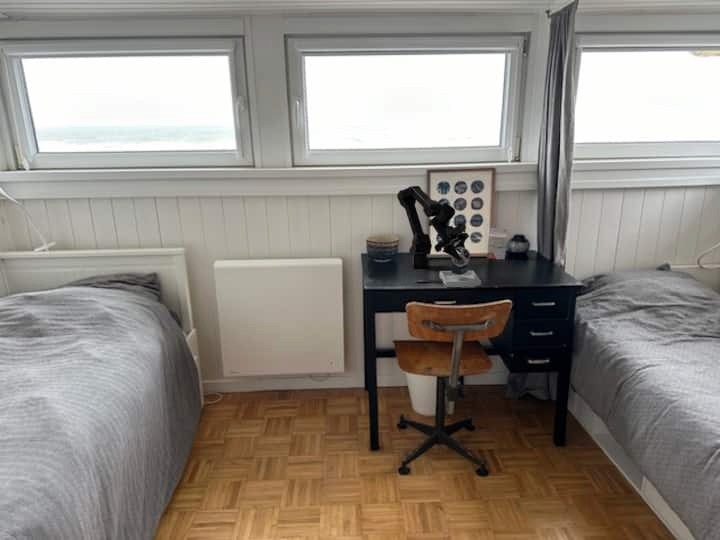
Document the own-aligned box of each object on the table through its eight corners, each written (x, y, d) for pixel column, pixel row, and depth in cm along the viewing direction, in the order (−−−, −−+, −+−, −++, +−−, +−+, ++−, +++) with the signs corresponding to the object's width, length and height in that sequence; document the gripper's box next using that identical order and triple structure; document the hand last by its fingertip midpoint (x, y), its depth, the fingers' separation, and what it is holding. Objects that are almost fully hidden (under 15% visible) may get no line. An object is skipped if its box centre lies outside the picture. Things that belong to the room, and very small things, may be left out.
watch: (464, 276, 204) (465, 250, 201) (448, 272, 209) (449, 247, 206) (471, 272, 208) (472, 247, 204) (455, 268, 213) (456, 244, 210)
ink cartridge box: (486, 258, 243) (488, 229, 238) (487, 256, 247) (489, 227, 243) (504, 260, 240) (506, 230, 236) (505, 257, 244) (507, 228, 240)
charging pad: (418, 288, 202) (418, 282, 202) (413, 277, 216) (413, 271, 215) (481, 287, 203) (481, 281, 202) (472, 276, 217) (472, 270, 216)
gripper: (441, 220, 198) (463, 252, 194) (466, 213, 210) (487, 243, 207) (425, 236, 205) (446, 267, 201) (450, 229, 218) (470, 257, 214)
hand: (463, 258), depth 206 cm, fingers closed on watch, 5 cm apart
